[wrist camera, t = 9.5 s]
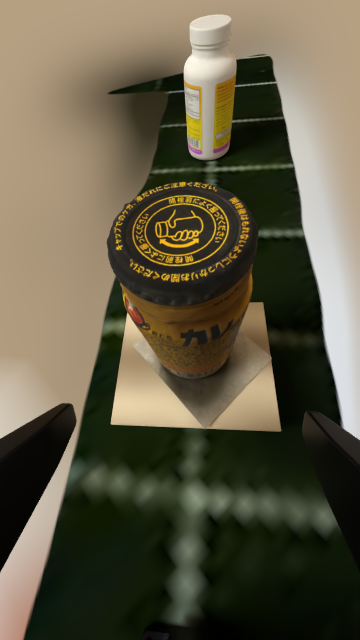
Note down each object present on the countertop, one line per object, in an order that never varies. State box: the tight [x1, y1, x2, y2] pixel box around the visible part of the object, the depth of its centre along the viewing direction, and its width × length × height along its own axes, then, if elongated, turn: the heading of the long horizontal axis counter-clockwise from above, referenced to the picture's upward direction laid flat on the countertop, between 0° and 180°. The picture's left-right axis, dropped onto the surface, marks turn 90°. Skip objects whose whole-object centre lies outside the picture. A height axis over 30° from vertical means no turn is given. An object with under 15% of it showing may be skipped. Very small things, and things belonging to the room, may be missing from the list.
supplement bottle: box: [184, 15, 236, 160], centre depth 30 cm, size 7×7×13 cm
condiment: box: [107, 182, 272, 429], centre depth 12 cm, size 7×8×12 cm
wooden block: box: [111, 302, 281, 431], centre depth 19 cm, size 10×12×4 cm
